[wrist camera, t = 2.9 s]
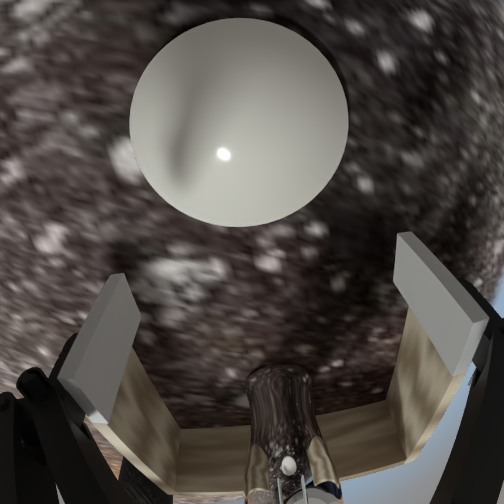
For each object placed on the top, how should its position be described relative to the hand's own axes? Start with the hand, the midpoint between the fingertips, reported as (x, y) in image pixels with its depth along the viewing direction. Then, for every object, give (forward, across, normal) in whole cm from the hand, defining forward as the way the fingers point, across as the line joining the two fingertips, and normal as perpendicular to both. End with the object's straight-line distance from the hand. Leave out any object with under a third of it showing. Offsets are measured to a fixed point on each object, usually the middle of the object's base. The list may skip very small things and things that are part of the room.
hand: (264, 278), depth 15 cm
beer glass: (+6, 0, -16) cm, 17 cm away
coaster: (+6, 0, +6) cm, 9 cm away
